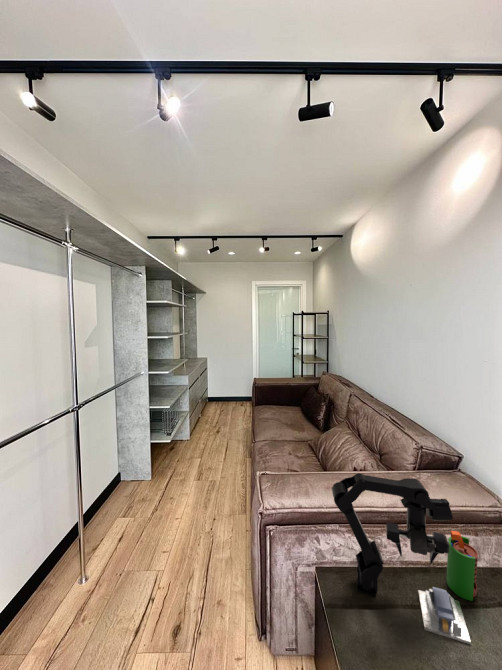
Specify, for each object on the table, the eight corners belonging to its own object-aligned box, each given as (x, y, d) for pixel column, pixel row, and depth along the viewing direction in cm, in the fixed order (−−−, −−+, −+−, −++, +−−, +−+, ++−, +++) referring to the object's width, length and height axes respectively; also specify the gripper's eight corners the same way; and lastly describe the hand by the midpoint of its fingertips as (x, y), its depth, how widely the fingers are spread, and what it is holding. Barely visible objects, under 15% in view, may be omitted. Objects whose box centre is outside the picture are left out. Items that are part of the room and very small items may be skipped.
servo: (438, 626, 94) (438, 611, 93) (432, 597, 103) (432, 583, 102) (453, 631, 92) (453, 616, 92) (445, 601, 101) (446, 587, 101)
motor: (483, 602, 101) (485, 547, 99) (454, 598, 103) (455, 544, 101) (468, 575, 111) (470, 525, 109) (441, 572, 113) (442, 522, 111)
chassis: (424, 629, 94) (424, 618, 93) (418, 592, 106) (418, 582, 105) (470, 644, 89) (471, 632, 89) (458, 603, 101) (459, 593, 101)
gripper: (387, 527, 100) (387, 570, 101) (454, 541, 93) (452, 587, 94) (386, 506, 110) (386, 545, 112) (445, 517, 103) (444, 559, 105)
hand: (415, 559), depth 105 cm, fingers open, 9 cm apart
